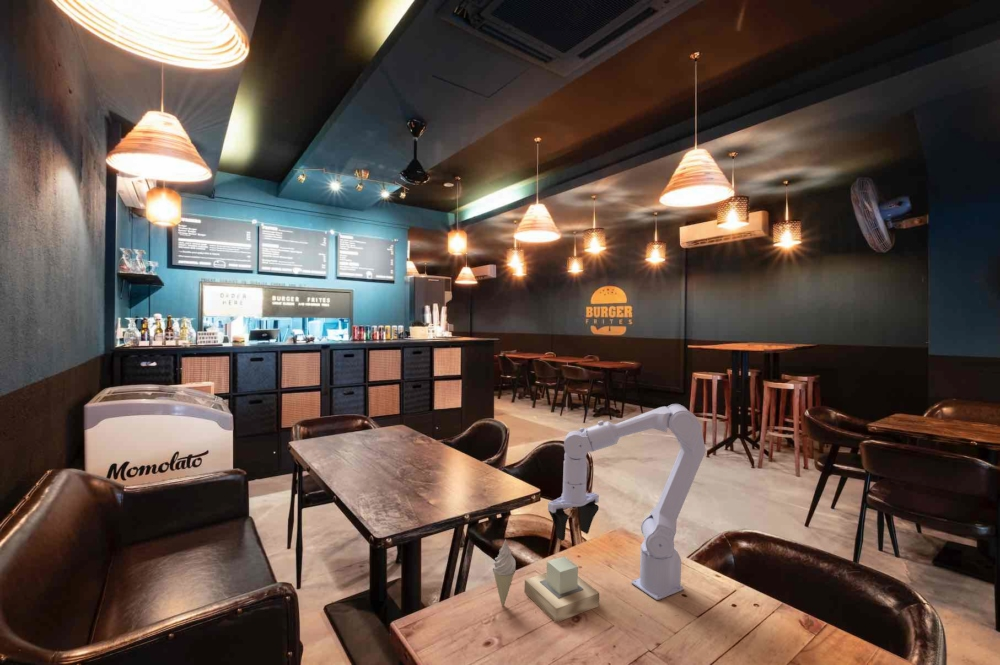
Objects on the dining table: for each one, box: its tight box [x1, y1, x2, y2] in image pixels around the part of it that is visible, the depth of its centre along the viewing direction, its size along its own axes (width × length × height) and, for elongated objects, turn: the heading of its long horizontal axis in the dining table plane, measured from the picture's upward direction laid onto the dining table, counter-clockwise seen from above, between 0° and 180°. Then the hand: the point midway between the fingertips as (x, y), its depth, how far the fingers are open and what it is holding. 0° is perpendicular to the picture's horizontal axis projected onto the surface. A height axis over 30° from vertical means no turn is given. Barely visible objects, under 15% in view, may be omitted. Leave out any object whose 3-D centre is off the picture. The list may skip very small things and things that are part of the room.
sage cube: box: [546, 555, 579, 594], centre depth 102 cm, size 5×5×5 cm
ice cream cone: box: [492, 538, 517, 607], centre depth 99 cm, size 5×5×15 cm
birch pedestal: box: [523, 572, 600, 623], centre depth 103 cm, size 12×12×3 cm
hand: (572, 535), depth 112 cm, fingers open, 7 cm apart
